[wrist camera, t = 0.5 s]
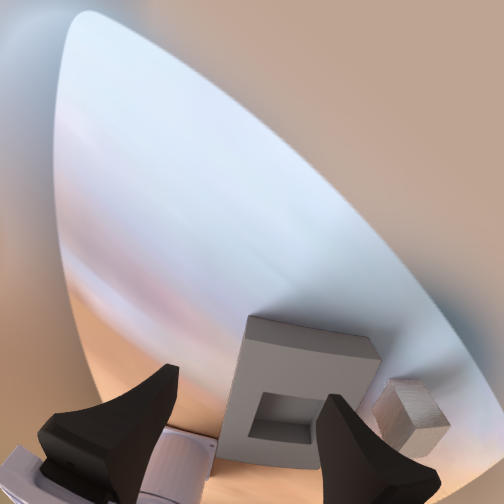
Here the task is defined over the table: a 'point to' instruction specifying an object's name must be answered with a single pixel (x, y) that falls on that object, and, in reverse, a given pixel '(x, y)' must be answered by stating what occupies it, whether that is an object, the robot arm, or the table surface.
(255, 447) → the bore block
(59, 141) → the table surface
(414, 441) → the square bit
